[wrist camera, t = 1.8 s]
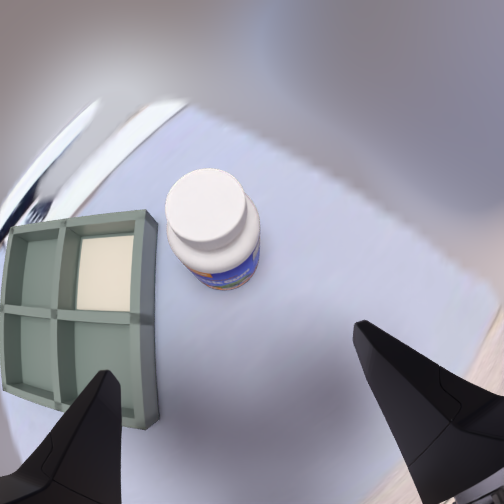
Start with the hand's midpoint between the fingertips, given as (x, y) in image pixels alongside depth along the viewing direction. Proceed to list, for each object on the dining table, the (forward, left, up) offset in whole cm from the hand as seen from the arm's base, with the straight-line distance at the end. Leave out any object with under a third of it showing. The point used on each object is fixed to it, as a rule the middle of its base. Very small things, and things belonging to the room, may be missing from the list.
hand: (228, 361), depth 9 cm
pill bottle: (+7, +1, -12) cm, 14 cm away
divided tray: (+2, +15, -12) cm, 20 cm away
